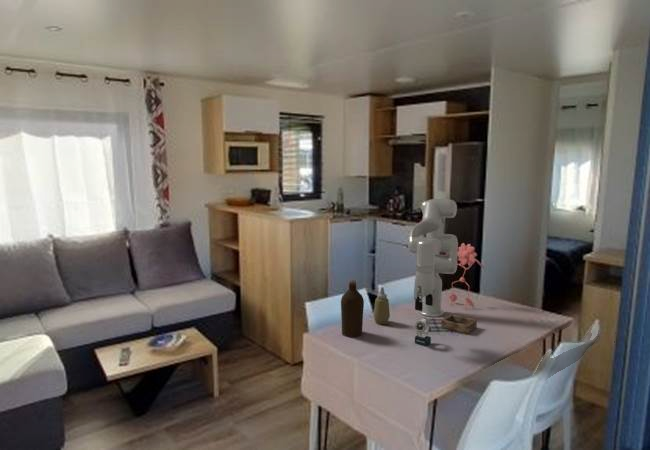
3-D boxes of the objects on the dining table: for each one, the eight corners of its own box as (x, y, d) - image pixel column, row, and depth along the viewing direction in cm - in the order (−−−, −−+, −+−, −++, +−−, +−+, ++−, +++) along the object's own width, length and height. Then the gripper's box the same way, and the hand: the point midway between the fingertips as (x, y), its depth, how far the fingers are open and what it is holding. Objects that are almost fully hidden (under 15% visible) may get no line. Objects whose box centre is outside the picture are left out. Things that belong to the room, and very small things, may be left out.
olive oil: (365, 337, 205) (366, 283, 202) (343, 338, 203) (343, 284, 200) (360, 328, 215) (361, 277, 212) (338, 330, 214) (338, 278, 210)
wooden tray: (441, 328, 216) (441, 320, 216) (450, 322, 225) (451, 314, 224) (467, 334, 208) (468, 326, 208) (476, 328, 217) (476, 320, 216)
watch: (412, 344, 197) (413, 320, 195) (421, 339, 203) (422, 315, 201) (424, 348, 193) (424, 323, 191) (432, 342, 199) (433, 318, 198)
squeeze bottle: (371, 324, 222) (372, 288, 219) (375, 318, 229) (376, 284, 226) (387, 326, 218) (388, 290, 216) (391, 321, 226) (392, 286, 223)
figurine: (477, 313, 238) (481, 248, 233) (437, 301, 258) (440, 241, 253) (493, 308, 247) (497, 245, 243) (453, 297, 267) (456, 239, 263)
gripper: (426, 264, 202) (424, 301, 204) (407, 271, 189) (406, 310, 191) (442, 267, 197) (440, 304, 199) (424, 273, 184) (422, 314, 186)
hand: (423, 307), depth 195 cm, fingers open, 9 cm apart
